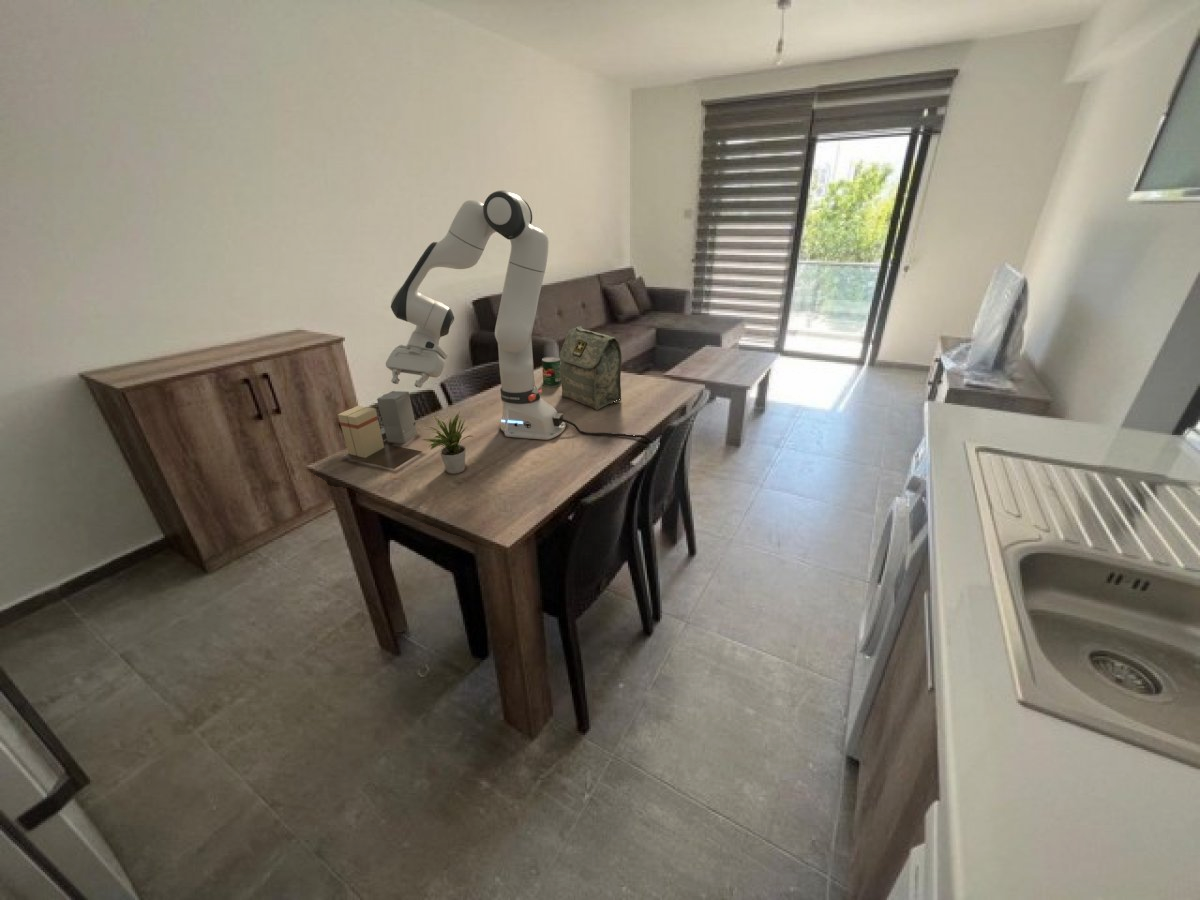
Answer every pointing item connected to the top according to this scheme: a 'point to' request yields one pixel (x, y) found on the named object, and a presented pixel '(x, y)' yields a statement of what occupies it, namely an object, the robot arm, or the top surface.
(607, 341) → the lunch bag
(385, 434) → the blue-grey rectangular block
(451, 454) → the house plant
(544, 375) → the canned tomato
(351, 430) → the cream boxes
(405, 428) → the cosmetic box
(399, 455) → the brown flat rectangular panel
